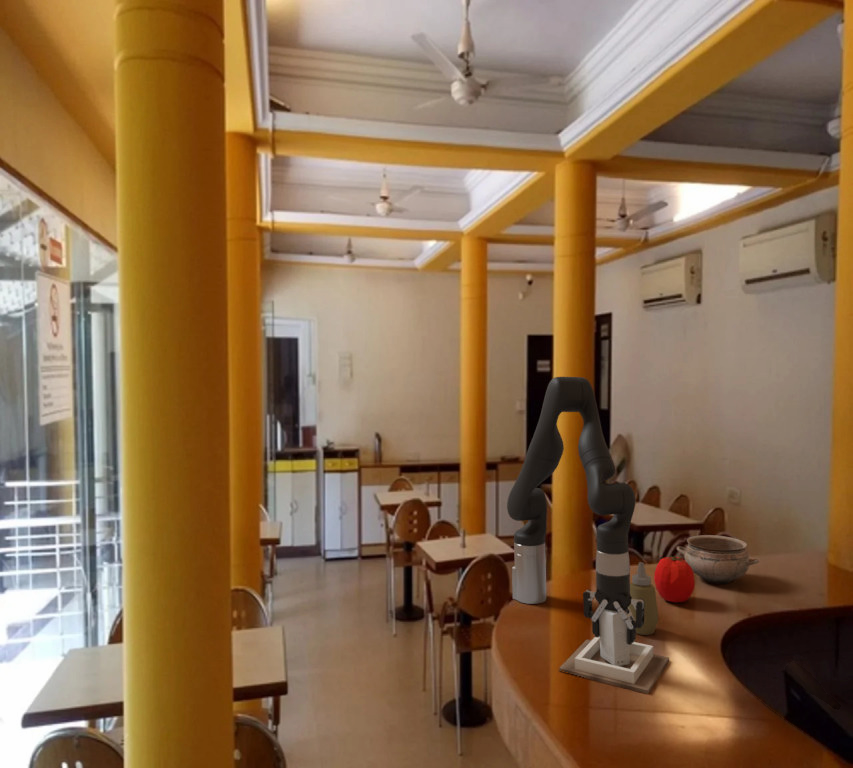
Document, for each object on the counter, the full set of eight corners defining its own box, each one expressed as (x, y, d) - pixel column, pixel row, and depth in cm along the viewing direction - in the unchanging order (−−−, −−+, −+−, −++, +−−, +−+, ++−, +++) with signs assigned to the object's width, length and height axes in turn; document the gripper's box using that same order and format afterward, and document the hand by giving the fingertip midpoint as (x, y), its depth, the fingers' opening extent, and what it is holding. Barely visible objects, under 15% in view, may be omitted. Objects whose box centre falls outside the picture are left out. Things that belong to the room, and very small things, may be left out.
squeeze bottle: (658, 626, 172) (657, 559, 172) (659, 639, 164) (657, 568, 164) (626, 623, 175) (625, 557, 174) (625, 635, 167) (624, 566, 167)
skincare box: (630, 664, 148) (629, 612, 148) (614, 667, 147) (613, 615, 147) (614, 653, 154) (613, 603, 154) (598, 656, 153) (597, 605, 152)
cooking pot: (666, 580, 208) (665, 542, 208) (687, 565, 222) (687, 530, 222) (750, 597, 191) (750, 556, 191) (767, 580, 205) (767, 542, 205)
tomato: (672, 591, 198) (671, 548, 198) (705, 604, 187) (704, 558, 187) (643, 598, 193) (643, 554, 193) (676, 611, 182) (675, 565, 182)
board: (559, 671, 149) (559, 668, 149) (586, 642, 164) (586, 639, 164) (648, 694, 137) (648, 690, 137) (669, 660, 152) (668, 657, 152)
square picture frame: (574, 669, 148) (574, 658, 148) (597, 644, 161) (597, 634, 161) (634, 683, 140) (633, 672, 140) (653, 656, 153) (652, 645, 153)
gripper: (577, 569, 151) (578, 639, 151) (639, 579, 143) (640, 653, 143) (588, 560, 157) (589, 627, 158) (648, 569, 149) (649, 640, 150)
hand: (613, 639), depth 150 cm, fingers closed on skincare box, 7 cm apart
